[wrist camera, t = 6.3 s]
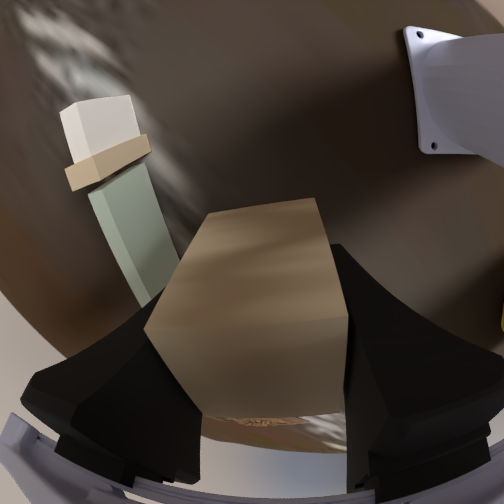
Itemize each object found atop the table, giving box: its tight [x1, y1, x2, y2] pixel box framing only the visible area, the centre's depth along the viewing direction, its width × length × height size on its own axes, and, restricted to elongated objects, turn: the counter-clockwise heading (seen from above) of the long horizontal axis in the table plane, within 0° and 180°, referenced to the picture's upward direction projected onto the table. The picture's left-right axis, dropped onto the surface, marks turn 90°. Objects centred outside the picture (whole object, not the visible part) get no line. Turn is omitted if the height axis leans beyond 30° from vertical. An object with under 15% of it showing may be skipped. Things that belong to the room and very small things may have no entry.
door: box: [88, 162, 180, 308], centre depth 16 cm, size 2×10×5 cm, turn 12°
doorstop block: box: [144, 198, 348, 418], centre depth 8 cm, size 4×4×6 cm
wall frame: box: [60, 95, 151, 191], centre depth 16 cm, size 2×21×6 cm, turn 12°
